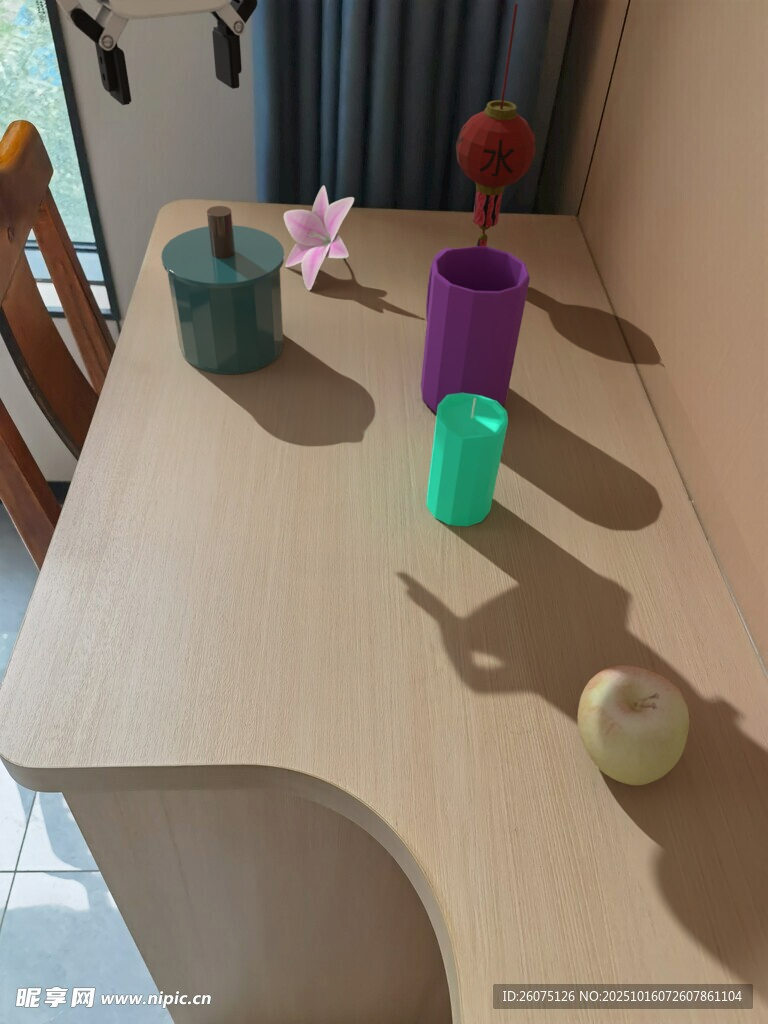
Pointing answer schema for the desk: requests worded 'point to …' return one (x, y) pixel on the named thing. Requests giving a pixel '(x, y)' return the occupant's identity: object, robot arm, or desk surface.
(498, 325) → the mug
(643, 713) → the fruit
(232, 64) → the robot arm
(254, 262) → the lid
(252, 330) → the teal round pot
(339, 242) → the lily
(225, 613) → the desk surface
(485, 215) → the lantern
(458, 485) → the candle
